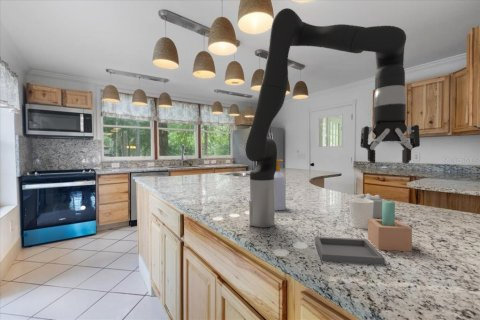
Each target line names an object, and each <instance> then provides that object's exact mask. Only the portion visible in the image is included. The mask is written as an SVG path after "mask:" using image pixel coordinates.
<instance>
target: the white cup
mask: <svg viewBox="0 0 480 320" xmlns="http://www.w3.org/2000/svg"><path fill="white" fill-rule="evenodd" d="M373 206H374V201H372V200H369V199H362V198H355V197H354V198H349V199H348V213H349V224H350V226H351V227H353V228H356V229H365V230H366V229H367V230H368V219H373Z"/></svg>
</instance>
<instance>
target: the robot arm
mask: <svg viewBox="0 0 480 320" xmlns="http://www.w3.org/2000/svg"><path fill="white" fill-rule="evenodd" d="M270 28H271V29H270V35H269V36H270V37H269V46H268V52H267V57H266V58H267V59H266V61H265V67H264V72H263V77H262V81H261V85H260V89H259V92H258V93H259V94H258V99H257V104H256V108H255V111H254V116H253V120H252V124H251V127H250V130H249V134H248V136H247V140H246V143H245V154H246V157H247V159H248V160H249V161H251V162H256V164H255V167H254V169H252V170H251V171H250V172H249V200H248V201H249V202H248V203H249V214H248V215H249V217H248V218H249V219H248V220H249V226H253V227H256V228H269V227H274V225H275V224H276V222H275V219H276V217H275V214H276V212H275V207H274V175H275V172H276V166H277V160H278V159H277V158H278V148H277V144H276V141H274V139H272V138H271V137H269V136H268V134H269V131H270V127H271V124H272V123H273V121H274V120H275V118H276V117H277V115H278V114H279V112H280V111H281V109H282V107H283V106H284V102H285V99H286V94H287V91H288V86H289V68H288V67H289V65H288V64H289V63H288V61H289V53H290V50H291V47H316V48H317V47H318V48H323V49H330V50H336V51H340V52H346V53H351V54H362V53H363V52H372V53H375V65H376V66H375V68H376V69H375V77H374V79H375V80H374V96H373V98H374V99H373V126H368V125H367V126H363V127H361V133H360V148H363V149H366V150H367V161H368V162H369V163H370V164H376V148H377V146H378V145H380V144H381V142H382V143H383V142H385V143H386V142H396V143H397V144H399V145H400V146H401V147H402V150H401V153H402V155H401V162H402V164H409V163H410V162H411V161H412V151H413V150H412V149H414V148H418V147H420V146H421V141H420V139H421V138H420V127H419V124H414V125H406V119H407V118H406V117H407V115H406V113H407V92H406V75H405V74H406V70H405V67H404V63H405V62H404V61H405V59H404V58H405V47H406V43H407V42H406V41H407V35H406V32H405V30H403V29H402V28H400V27H398V26H394V25H376V26H360V25H353V24H333V25H325V26H324V25H323V26H320V25H313V24H310V23H307V22H304V21H303V20H302V19H301V17H300V16H299V15H298V13H297V12H296V11H295V10H293V9H291V8H289V7H288V8H282V9H281V10H279V11H278V12H277V13H276V15H275V17H274V18H273V20H272V24H271V27H270ZM406 132H407V134H408V135H409V139H408V138H407V136H406V135H405V133H406ZM371 133H373V134H374V135H375V136H374V137H373V138H372V139H371V141H370V142H369V138H370V137H369V135H371Z"/></svg>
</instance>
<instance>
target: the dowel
mask: <svg viewBox="0 0 480 320" xmlns="http://www.w3.org/2000/svg"><path fill="white" fill-rule="evenodd" d="M395 220H396V202H394V201H390V200H389V201H386V200H385V201H383V202H382V226H395Z"/></svg>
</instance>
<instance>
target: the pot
mask: <svg viewBox="0 0 480 320" xmlns="http://www.w3.org/2000/svg"><path fill="white" fill-rule="evenodd" d="M412 236H413V229H412V227H410V226H409V225H407V224H405V223H403V222H401V221H399V219H395V226H382V219H377V218H374V219H368V229H367V240H368V241H369V242H370V243H372V245H374V247H375V248H377V250H381V251H397V252H398V251H399V252H402V251H403V252H412V250H413V249H412V248H413V247H412V245H413V243H412V241H413V239H412V238H413V237H412Z"/></svg>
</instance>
